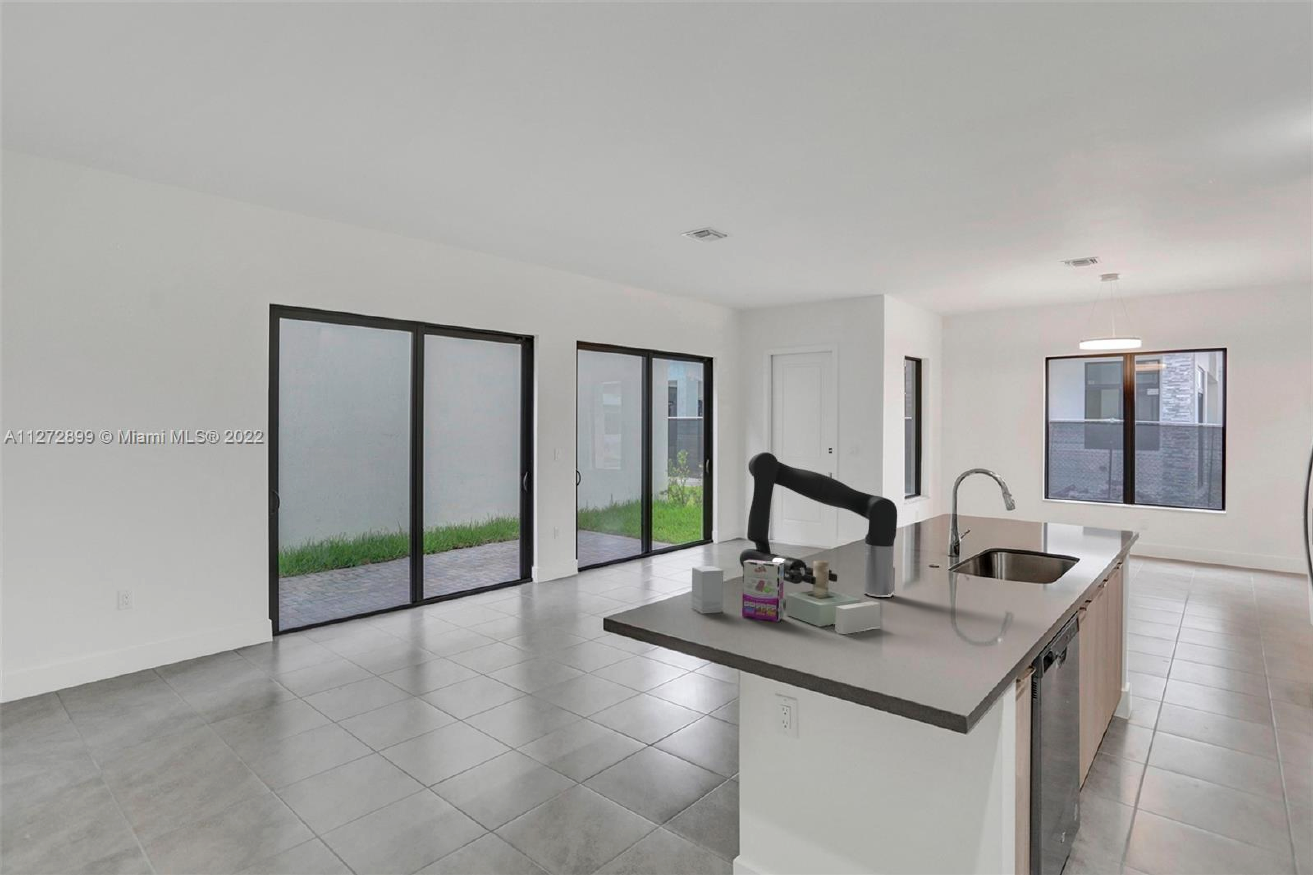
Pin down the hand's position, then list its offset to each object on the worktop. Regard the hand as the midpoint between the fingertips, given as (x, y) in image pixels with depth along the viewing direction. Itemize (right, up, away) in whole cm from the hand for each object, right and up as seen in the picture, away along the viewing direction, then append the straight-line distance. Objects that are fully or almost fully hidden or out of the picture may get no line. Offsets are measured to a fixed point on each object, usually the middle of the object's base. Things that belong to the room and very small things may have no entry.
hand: (825, 579), depth 196 cm
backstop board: (+6, -12, -11) cm, 17 cm away
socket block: (-1, -11, +1) cm, 12 cm away
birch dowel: (-1, -9, +2) cm, 9 cm away
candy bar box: (-19, -11, 0) cm, 22 cm away
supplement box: (-34, -11, +7) cm, 37 cm away
